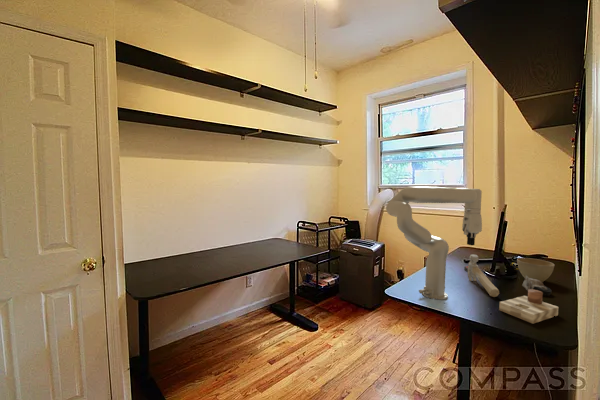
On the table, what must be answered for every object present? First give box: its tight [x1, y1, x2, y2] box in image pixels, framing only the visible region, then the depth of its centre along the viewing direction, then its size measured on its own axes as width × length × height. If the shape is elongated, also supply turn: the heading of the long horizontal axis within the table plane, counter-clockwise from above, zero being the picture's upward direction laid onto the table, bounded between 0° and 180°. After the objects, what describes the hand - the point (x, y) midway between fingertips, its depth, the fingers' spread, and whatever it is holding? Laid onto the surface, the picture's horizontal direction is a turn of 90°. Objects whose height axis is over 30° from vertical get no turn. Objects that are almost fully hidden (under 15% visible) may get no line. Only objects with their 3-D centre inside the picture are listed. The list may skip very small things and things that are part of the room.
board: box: [498, 295, 559, 324], centre depth 133 cm, size 20×14×4 cm
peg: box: [527, 289, 544, 305], centre depth 135 cm, size 6×6×9 cm
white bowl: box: [516, 257, 555, 283], centre depth 178 cm, size 18×18×12 cm
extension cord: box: [511, 262, 520, 271], centre depth 208 cm, size 12×16×2 cm
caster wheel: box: [521, 276, 552, 297], centre depth 159 cm, size 7×11×10 cm
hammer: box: [467, 254, 500, 298], centre depth 165 cm, size 16×5×30 cm
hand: (470, 244), depth 154 cm, fingers closed
